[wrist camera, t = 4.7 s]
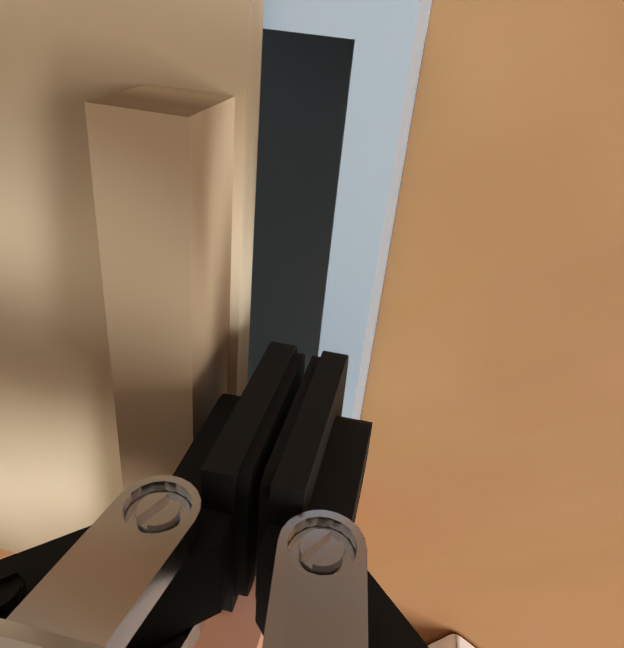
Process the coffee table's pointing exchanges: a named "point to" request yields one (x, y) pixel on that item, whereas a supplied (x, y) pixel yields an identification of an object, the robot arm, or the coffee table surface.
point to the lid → (119, 243)
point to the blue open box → (330, 173)
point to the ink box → (451, 642)
